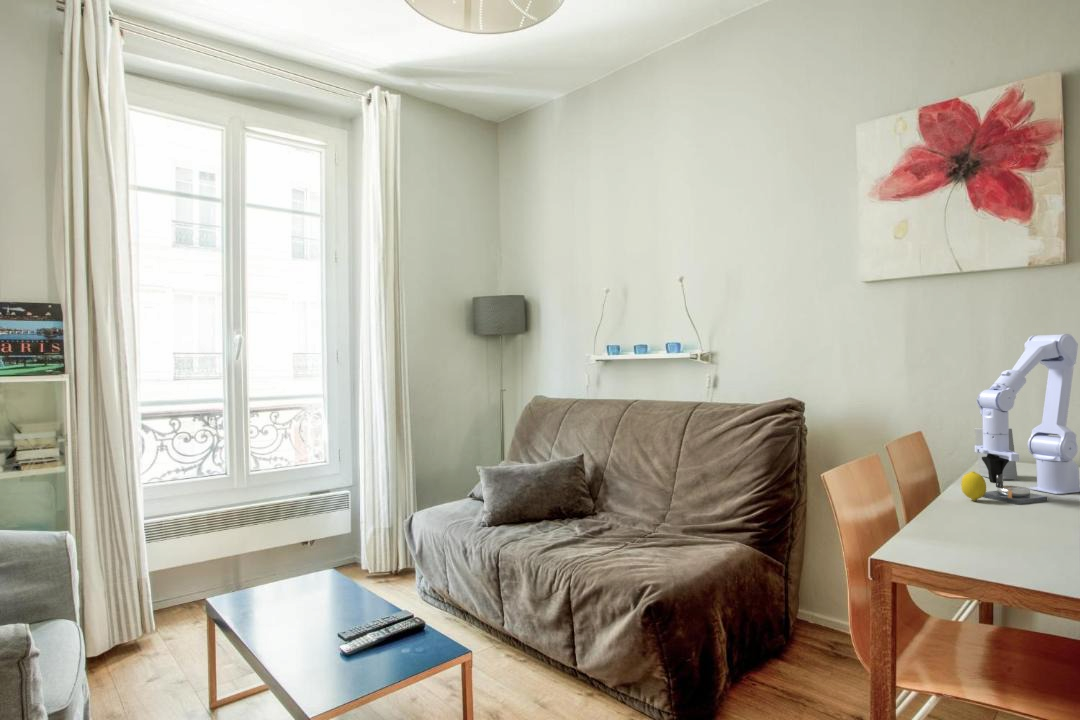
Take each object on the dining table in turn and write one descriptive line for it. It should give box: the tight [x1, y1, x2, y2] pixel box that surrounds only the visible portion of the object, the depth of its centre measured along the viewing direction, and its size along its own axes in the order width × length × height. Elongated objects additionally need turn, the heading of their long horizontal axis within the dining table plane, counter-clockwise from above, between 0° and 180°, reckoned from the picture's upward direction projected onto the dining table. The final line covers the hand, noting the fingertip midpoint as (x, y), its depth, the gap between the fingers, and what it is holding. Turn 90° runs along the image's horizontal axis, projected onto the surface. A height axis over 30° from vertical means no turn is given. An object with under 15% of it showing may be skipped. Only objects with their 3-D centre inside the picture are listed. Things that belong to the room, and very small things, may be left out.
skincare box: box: [974, 427, 1018, 481], centre depth 193 cm, size 8×7×16 cm
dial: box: [995, 474, 1031, 497], centre depth 166 cm, size 7×7×5 cm
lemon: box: [960, 470, 987, 502], centre depth 165 cm, size 6×6×8 cm
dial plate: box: [982, 490, 1048, 506], centre depth 166 cm, size 10×10×3 cm
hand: (996, 482), depth 168 cm, fingers closed, pressing on dial
